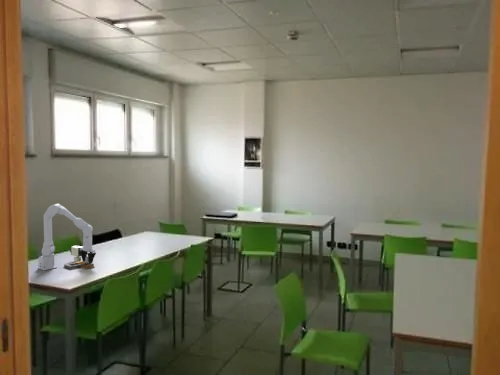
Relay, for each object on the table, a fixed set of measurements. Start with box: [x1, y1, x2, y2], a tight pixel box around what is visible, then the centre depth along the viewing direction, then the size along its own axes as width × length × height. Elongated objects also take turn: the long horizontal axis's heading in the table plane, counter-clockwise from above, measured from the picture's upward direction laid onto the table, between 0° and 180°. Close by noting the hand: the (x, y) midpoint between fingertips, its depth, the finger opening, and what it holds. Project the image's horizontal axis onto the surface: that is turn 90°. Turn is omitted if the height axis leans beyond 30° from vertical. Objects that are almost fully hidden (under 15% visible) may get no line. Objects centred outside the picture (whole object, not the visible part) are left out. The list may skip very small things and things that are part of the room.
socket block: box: [63, 262, 82, 270], centre depth 293 cm, size 8×8×2 cm
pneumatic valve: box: [69, 244, 83, 263], centre depth 311 cm, size 6×12×12 cm, turn 59°
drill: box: [85, 255, 90, 265], centre depth 294 cm, size 3×3×7 cm
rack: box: [81, 262, 95, 270], centre depth 294 cm, size 6×6×3 cm
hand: (87, 262), depth 294 cm, fingers open, 7 cm apart
